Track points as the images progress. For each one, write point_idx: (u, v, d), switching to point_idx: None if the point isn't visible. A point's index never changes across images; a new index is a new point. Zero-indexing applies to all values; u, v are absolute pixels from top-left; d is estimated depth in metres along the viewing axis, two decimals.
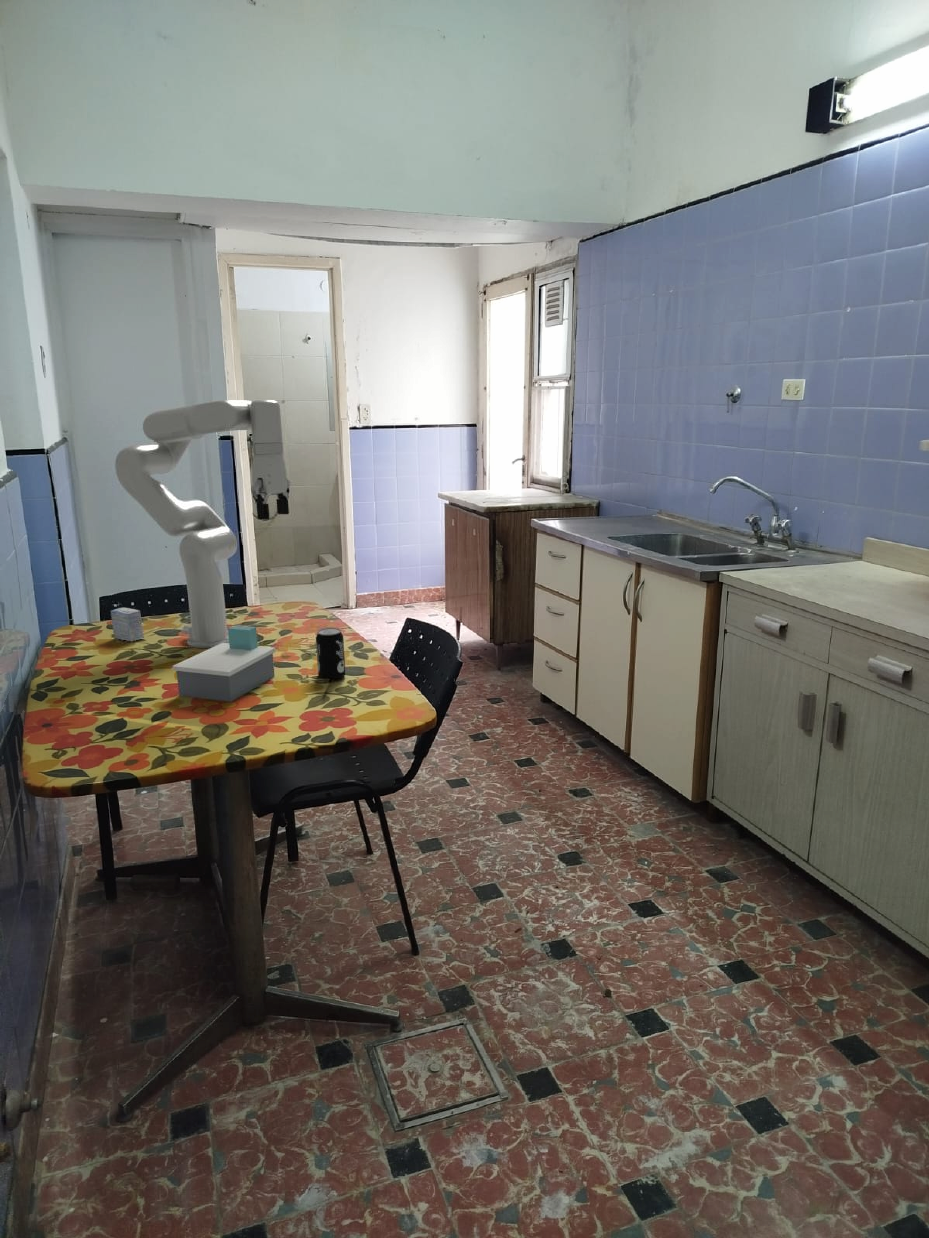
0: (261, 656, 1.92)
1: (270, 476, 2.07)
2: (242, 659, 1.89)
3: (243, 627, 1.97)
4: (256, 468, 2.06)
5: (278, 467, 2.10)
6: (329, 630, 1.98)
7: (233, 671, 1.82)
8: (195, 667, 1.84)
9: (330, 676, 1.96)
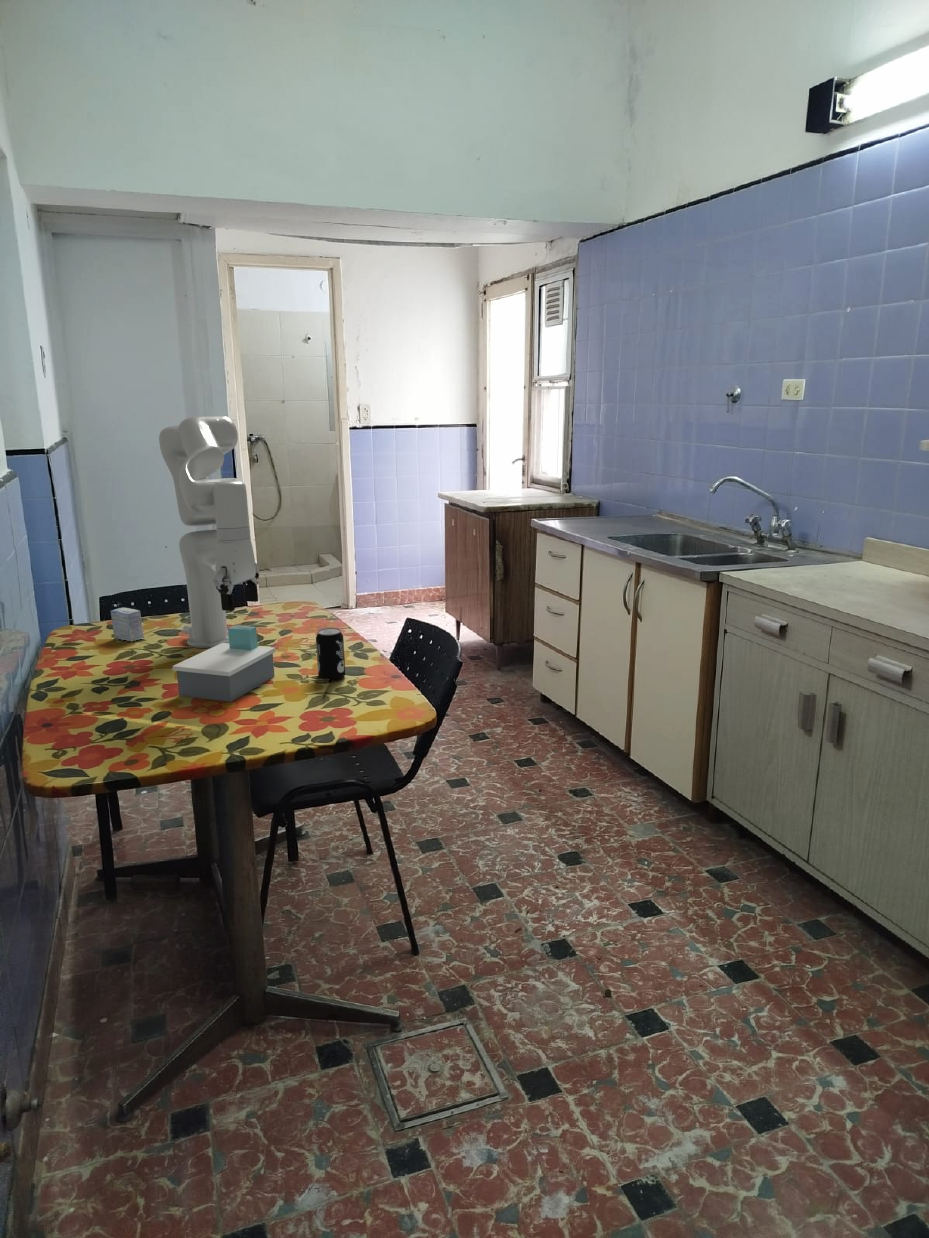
0: (261, 656, 1.92)
1: (235, 564, 1.89)
2: (242, 659, 1.89)
3: (243, 627, 1.97)
4: (220, 555, 1.88)
5: (244, 553, 1.91)
6: (329, 630, 1.98)
7: (233, 671, 1.82)
8: (195, 667, 1.84)
9: (330, 676, 1.96)
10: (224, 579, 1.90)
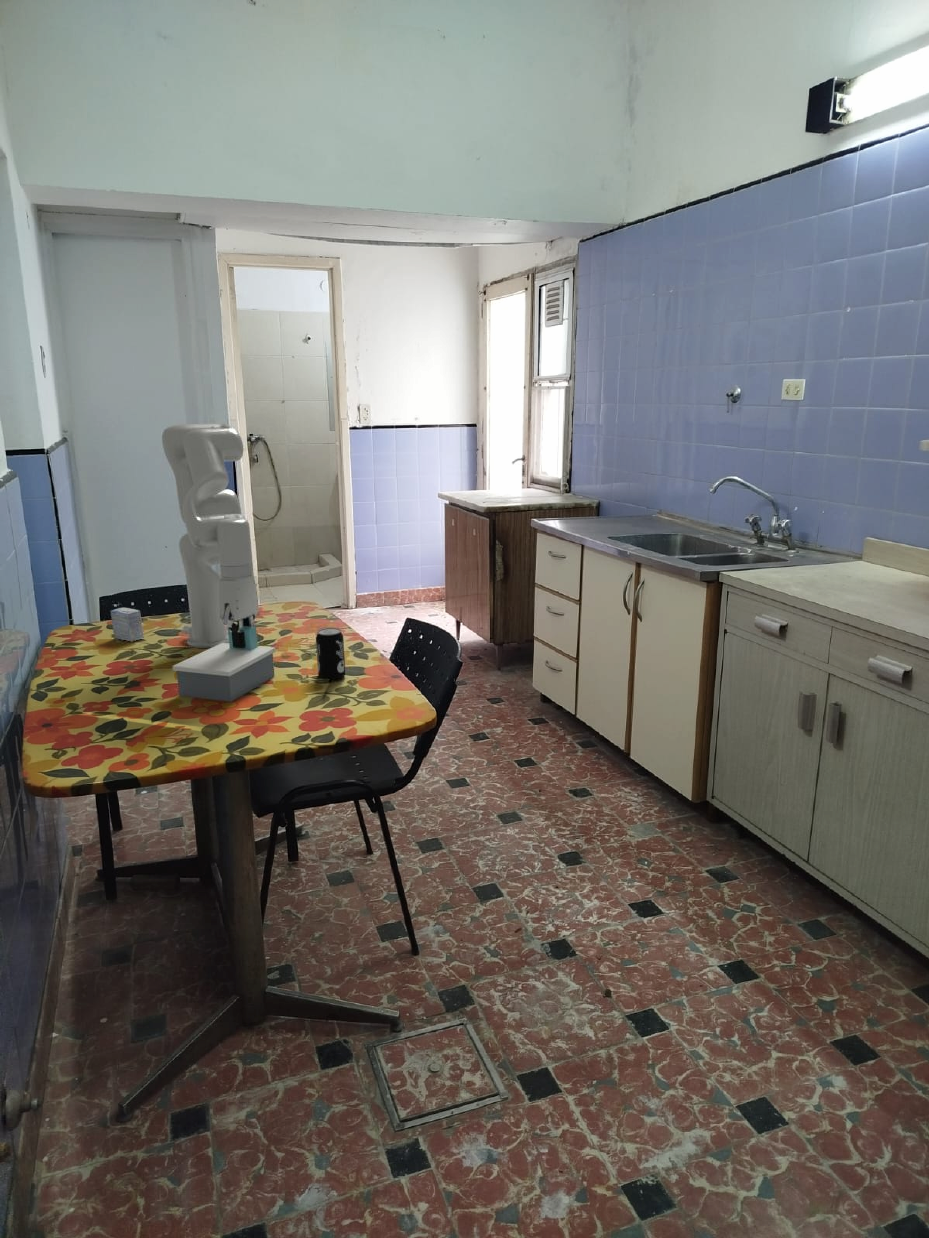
0: (261, 656, 1.92)
1: (238, 601, 1.91)
2: (242, 659, 1.89)
3: (243, 627, 1.97)
4: (223, 592, 1.90)
5: (247, 589, 1.94)
6: (329, 630, 1.98)
7: (233, 671, 1.82)
8: (195, 667, 1.84)
9: (330, 676, 1.96)
10: None
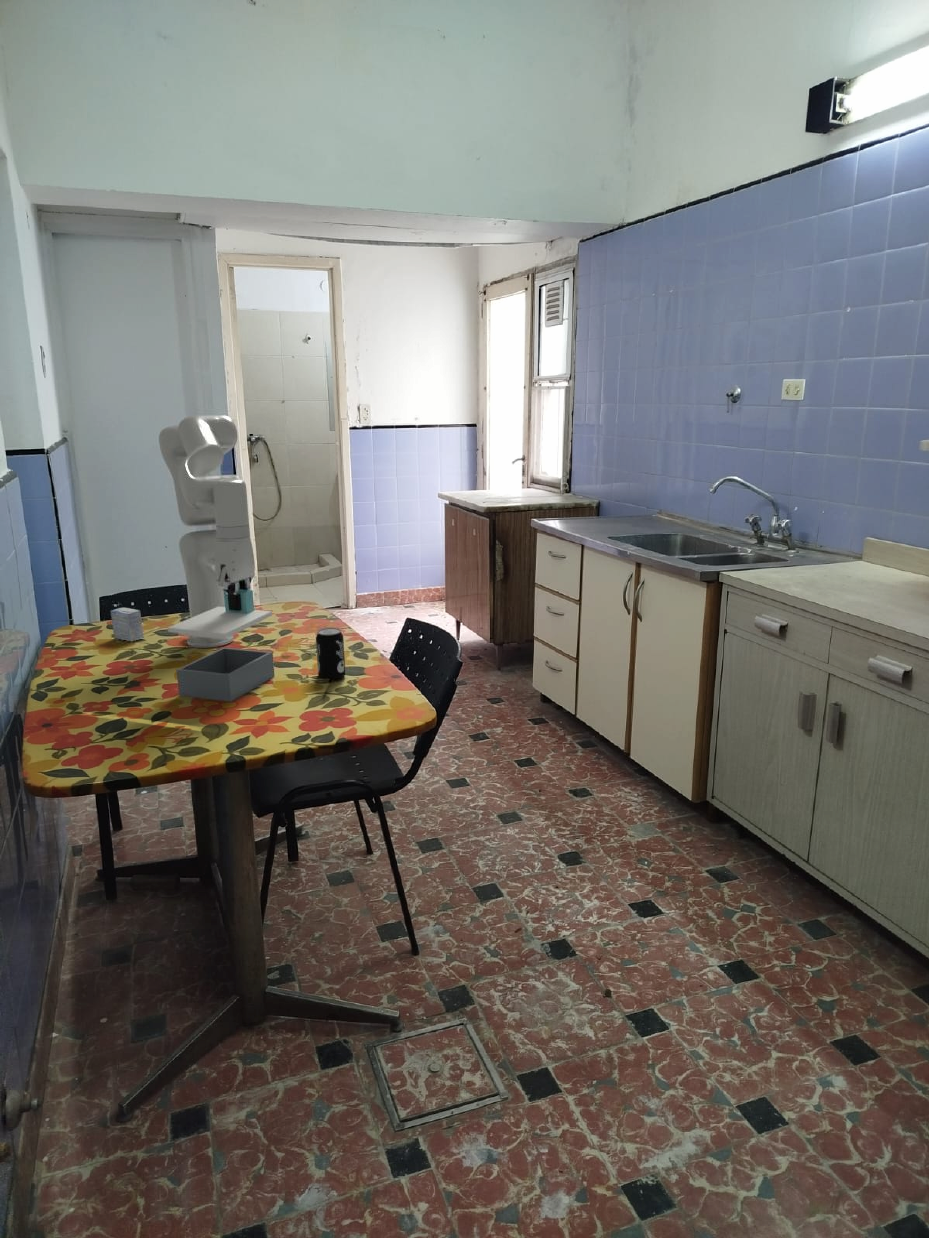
0: (257, 619, 1.91)
1: (234, 562, 1.89)
2: (238, 622, 1.87)
3: (239, 590, 1.95)
4: (219, 554, 1.88)
5: (244, 551, 1.92)
6: (329, 630, 1.98)
7: (229, 633, 1.80)
8: (191, 628, 1.82)
9: (330, 676, 1.96)
10: None
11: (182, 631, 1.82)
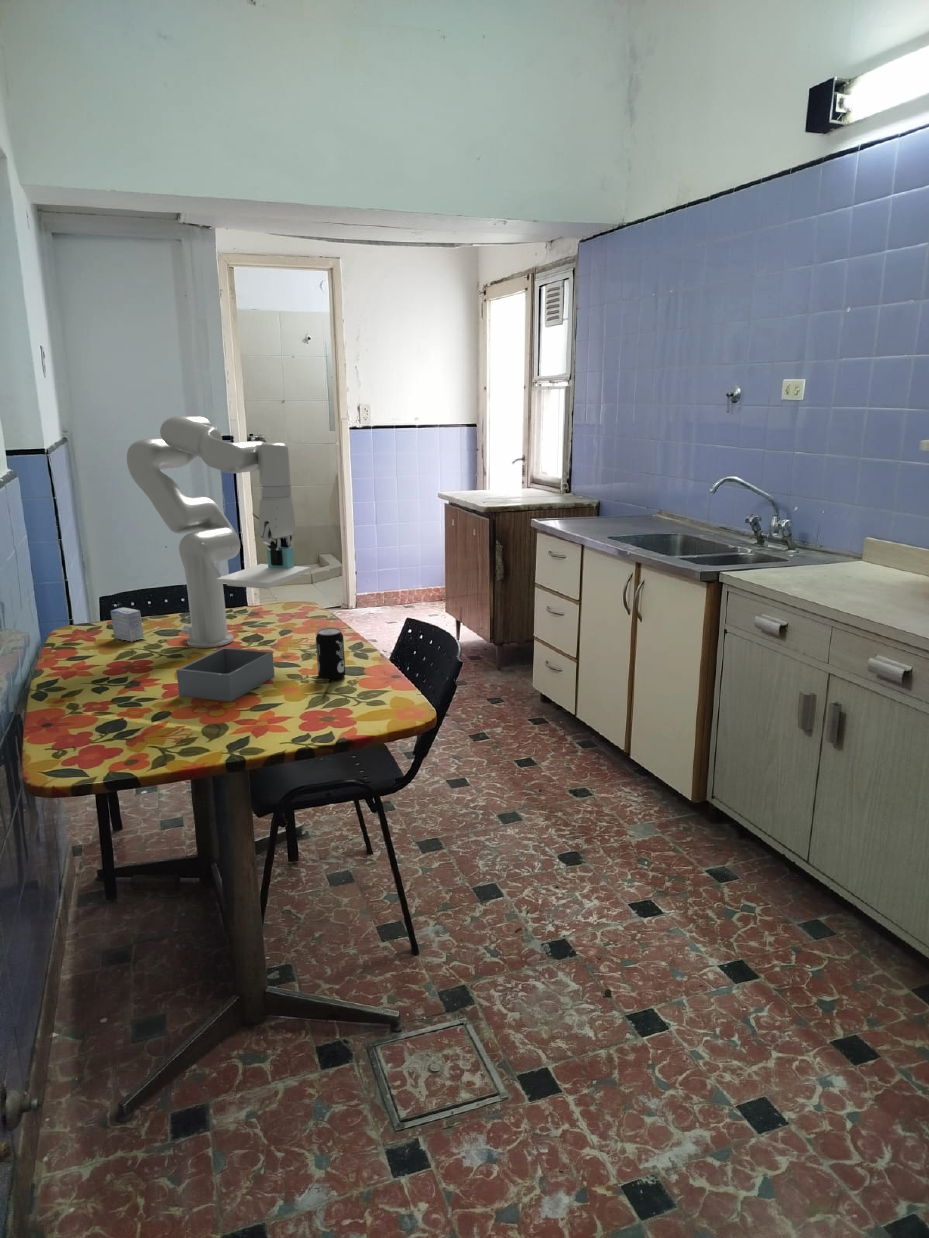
0: (298, 573, 2.06)
1: (277, 520, 2.05)
2: (280, 574, 2.03)
3: (281, 547, 2.11)
4: (263, 511, 2.04)
5: (285, 510, 2.07)
6: (329, 630, 1.98)
7: (272, 583, 1.96)
8: (237, 579, 1.98)
9: (330, 676, 1.96)
10: None
11: (229, 581, 1.98)
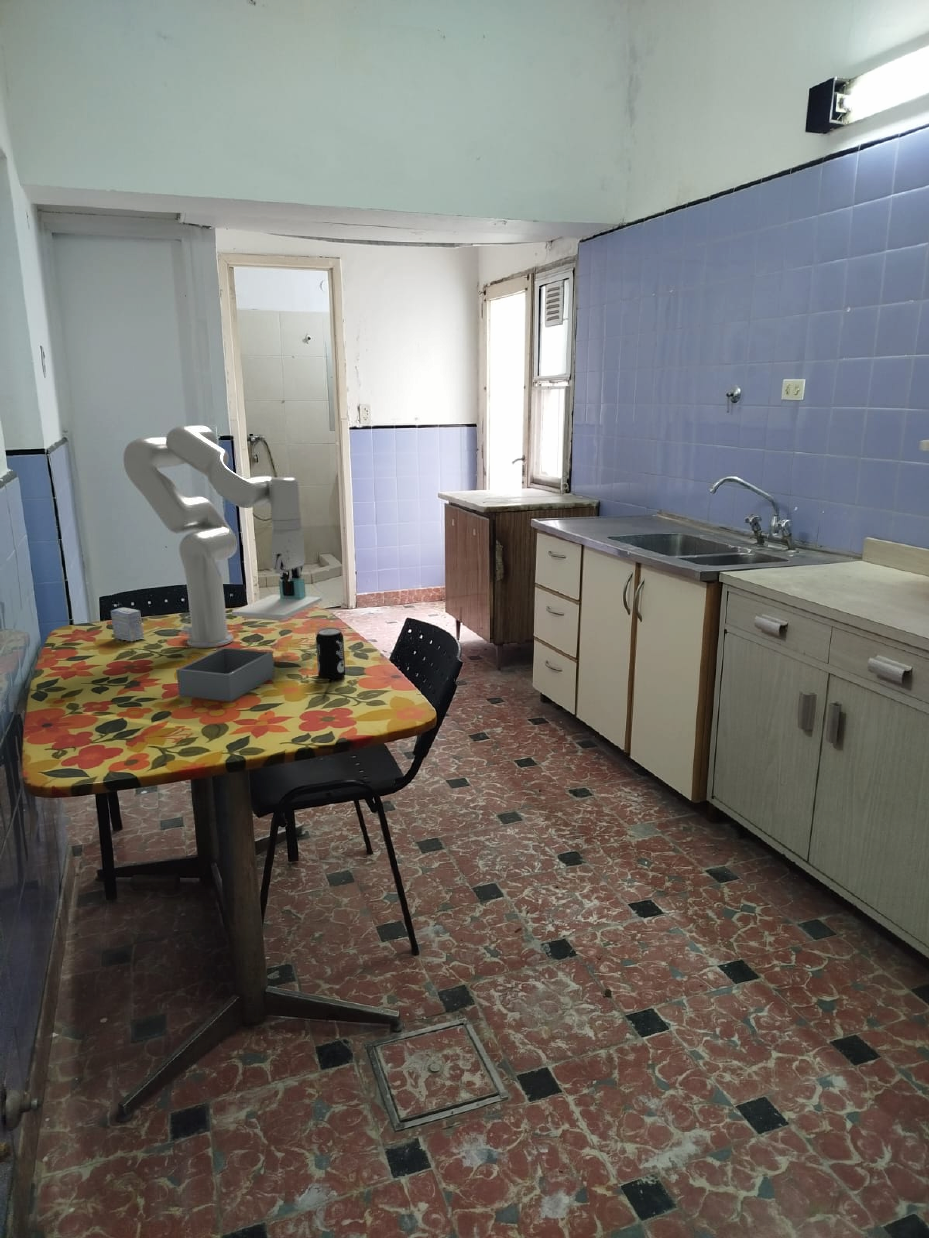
0: (310, 604, 2.12)
1: (289, 552, 2.11)
2: (294, 606, 2.09)
3: (292, 579, 2.17)
4: (275, 544, 2.10)
5: (296, 542, 2.13)
6: (329, 630, 1.98)
7: (287, 614, 2.02)
8: (253, 612, 2.04)
9: (330, 676, 1.96)
10: None
11: (245, 614, 2.04)
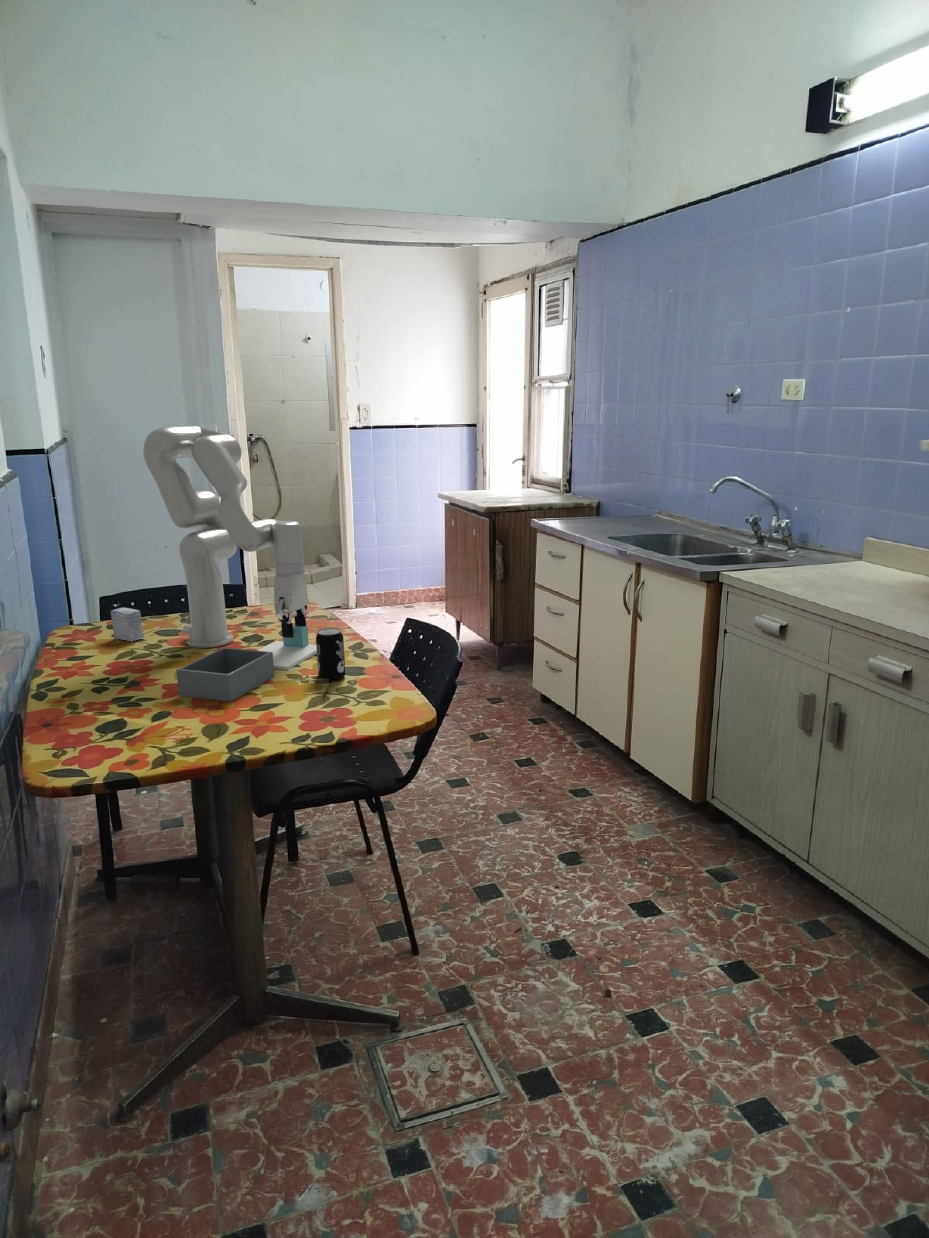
0: (313, 653, 2.16)
1: (291, 595, 2.14)
2: (297, 655, 2.13)
3: (296, 627, 2.21)
4: (278, 587, 2.13)
5: (299, 585, 2.16)
6: (329, 630, 1.98)
7: (291, 666, 2.05)
8: None
9: (330, 676, 1.96)
10: None
11: None
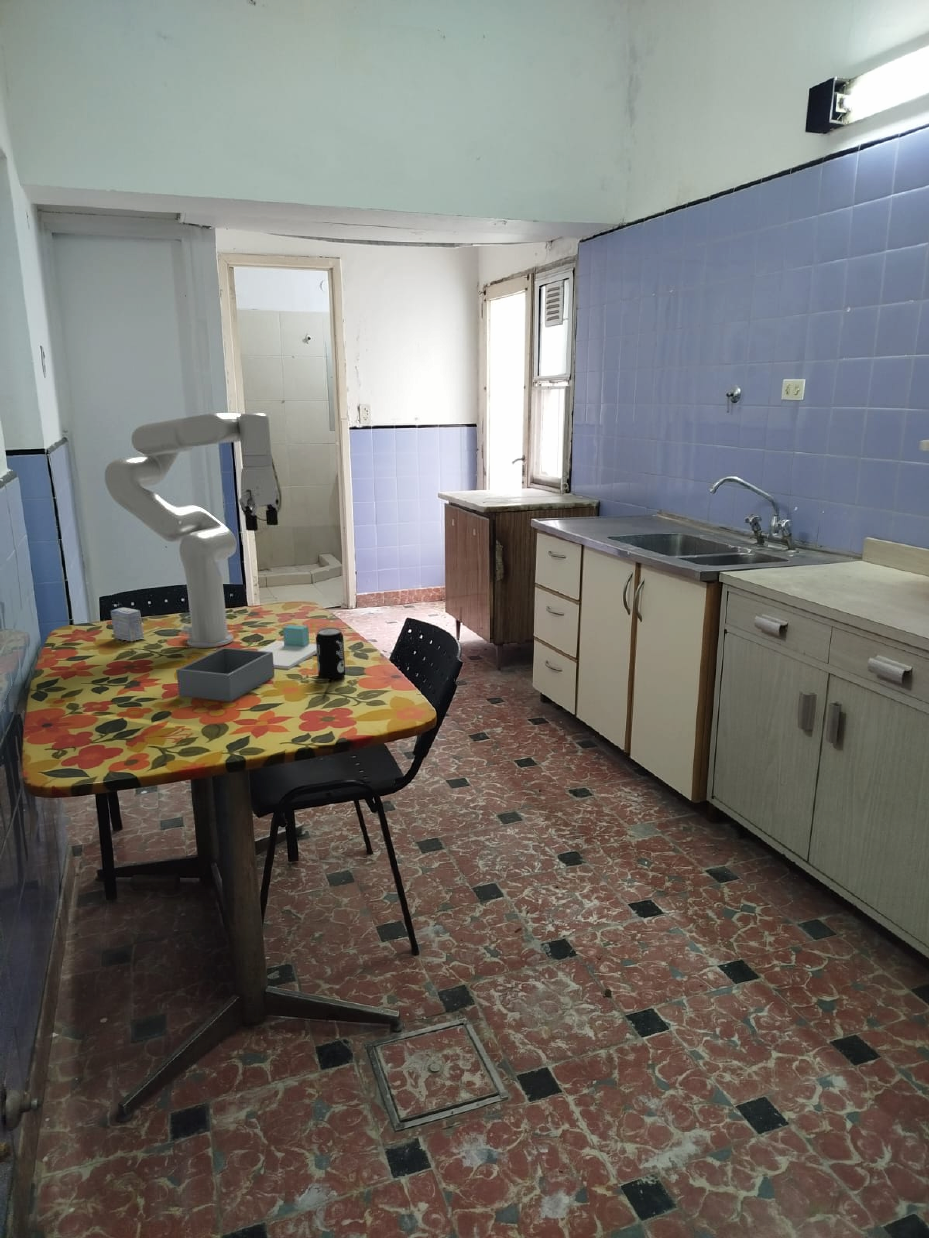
0: (314, 652, 2.16)
1: (258, 488, 2.10)
2: (298, 655, 2.13)
3: (296, 626, 2.21)
4: (245, 480, 2.09)
5: (267, 479, 2.13)
6: (329, 630, 1.98)
7: (292, 665, 2.06)
8: None
9: (330, 676, 1.96)
10: (248, 502, 2.12)
11: None
